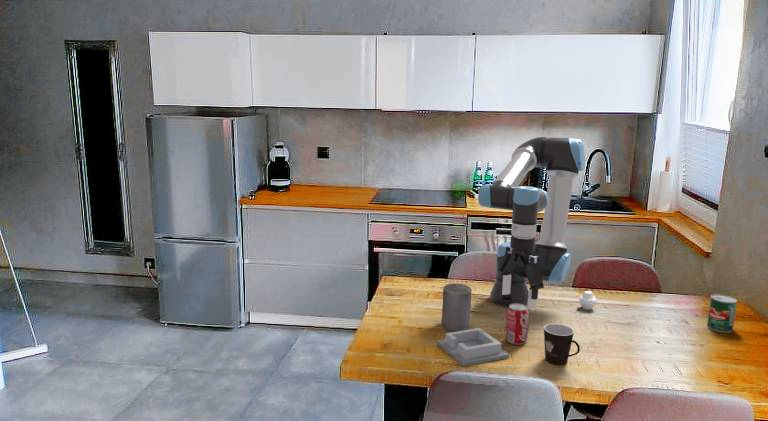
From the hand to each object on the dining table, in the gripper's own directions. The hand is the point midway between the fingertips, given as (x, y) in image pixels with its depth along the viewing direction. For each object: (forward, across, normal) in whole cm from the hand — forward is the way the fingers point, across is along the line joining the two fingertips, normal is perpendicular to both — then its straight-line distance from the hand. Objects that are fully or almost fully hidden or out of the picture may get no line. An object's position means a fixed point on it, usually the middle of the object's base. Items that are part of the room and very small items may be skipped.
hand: (518, 301), depth 179 cm
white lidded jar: (+14, -15, +43) cm, 48 cm away
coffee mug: (+14, +17, +3) cm, 22 cm away
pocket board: (+14, +1, -17) cm, 22 cm away
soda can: (+14, 0, 0) cm, 14 cm away
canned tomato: (+14, +16, +74) cm, 77 cm away
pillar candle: (+14, -18, -12) cm, 26 cm away
